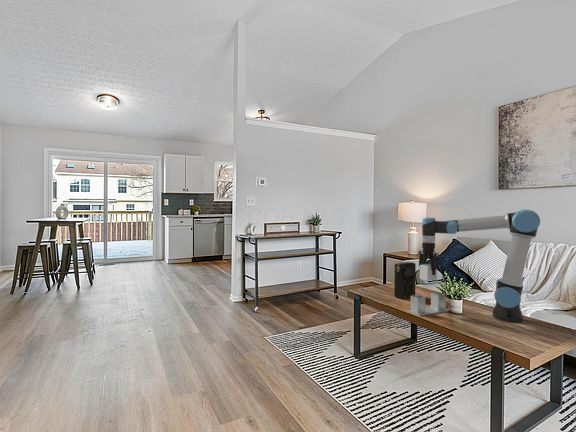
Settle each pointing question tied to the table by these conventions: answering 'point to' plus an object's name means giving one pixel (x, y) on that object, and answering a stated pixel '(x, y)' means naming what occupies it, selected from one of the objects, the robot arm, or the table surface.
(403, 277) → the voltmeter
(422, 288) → the table surface
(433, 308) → the grey stepped block
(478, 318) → the table surface
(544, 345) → the table surface
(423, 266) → the module
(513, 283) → the robot arm
